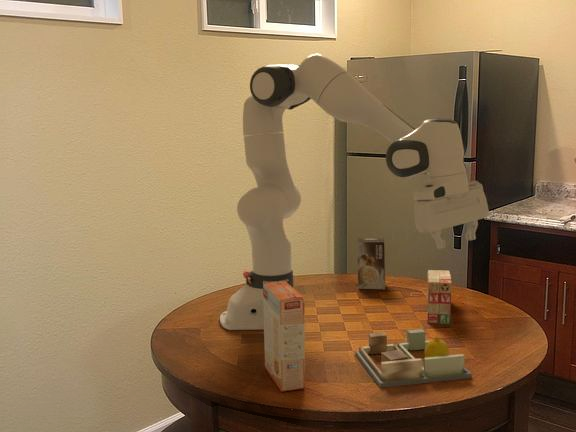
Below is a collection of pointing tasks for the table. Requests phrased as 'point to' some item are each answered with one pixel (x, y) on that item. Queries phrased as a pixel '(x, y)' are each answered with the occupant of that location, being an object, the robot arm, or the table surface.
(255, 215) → the robot arm
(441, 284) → the stack of blocks
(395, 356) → the walnut cube
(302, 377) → the cracker box
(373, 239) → the coffee box
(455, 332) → the table surface
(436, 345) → the fruit
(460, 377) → the lane guides
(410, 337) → the frame
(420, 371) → the frame
